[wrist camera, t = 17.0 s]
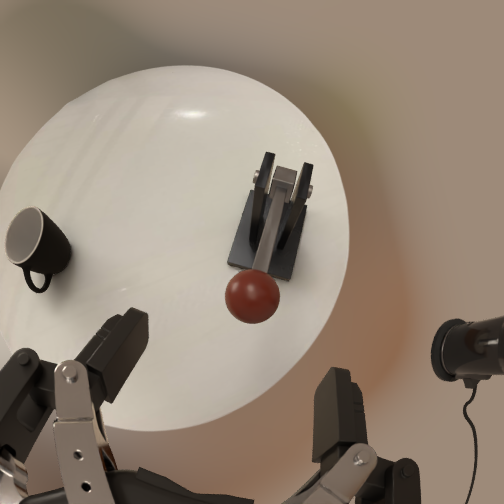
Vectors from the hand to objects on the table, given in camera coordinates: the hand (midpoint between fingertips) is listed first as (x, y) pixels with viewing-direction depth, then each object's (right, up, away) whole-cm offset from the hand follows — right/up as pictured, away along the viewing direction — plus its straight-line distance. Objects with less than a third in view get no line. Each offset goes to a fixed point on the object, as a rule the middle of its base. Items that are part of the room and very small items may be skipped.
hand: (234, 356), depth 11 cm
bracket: (+3, +7, +30) cm, 31 cm away
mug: (-32, +2, +27) cm, 42 cm away
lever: (+2, +5, +13) cm, 14 cm away
